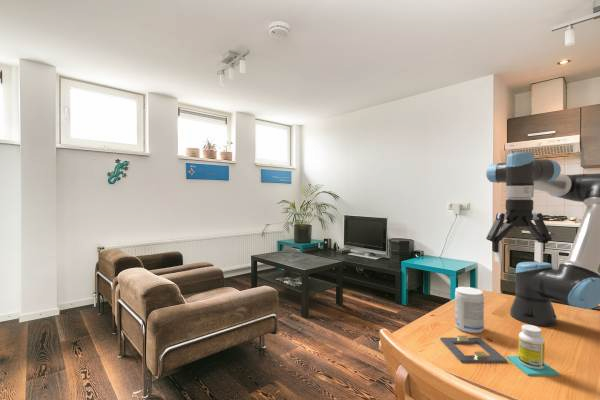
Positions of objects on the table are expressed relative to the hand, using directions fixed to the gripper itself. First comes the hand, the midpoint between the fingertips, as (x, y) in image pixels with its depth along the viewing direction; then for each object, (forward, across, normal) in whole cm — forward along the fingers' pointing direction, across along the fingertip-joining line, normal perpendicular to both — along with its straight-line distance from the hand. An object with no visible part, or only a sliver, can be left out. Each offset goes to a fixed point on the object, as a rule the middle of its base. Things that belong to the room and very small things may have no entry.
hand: (518, 261), depth 101 cm
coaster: (+29, -4, -12) cm, 31 cm away
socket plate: (+29, -17, -3) cm, 33 cm away
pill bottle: (+28, -4, -12) cm, 31 cm away
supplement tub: (+29, -9, +13) cm, 33 cm away
